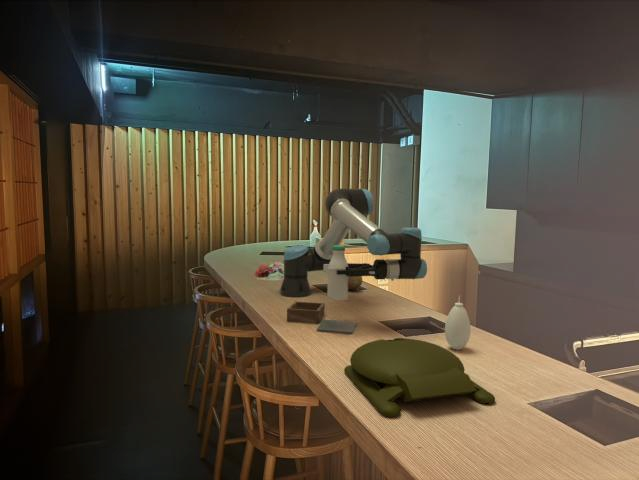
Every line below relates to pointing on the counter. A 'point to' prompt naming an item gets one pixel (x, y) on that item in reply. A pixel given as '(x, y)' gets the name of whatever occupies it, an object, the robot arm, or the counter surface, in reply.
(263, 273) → the candy landscape model
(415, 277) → the robot arm
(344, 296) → the milk bottle
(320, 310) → the walnut caddy
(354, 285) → the natural sponge
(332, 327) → the slate tile
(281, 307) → the counter surface
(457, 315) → the grey air blower bulb
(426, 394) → the spaceship
